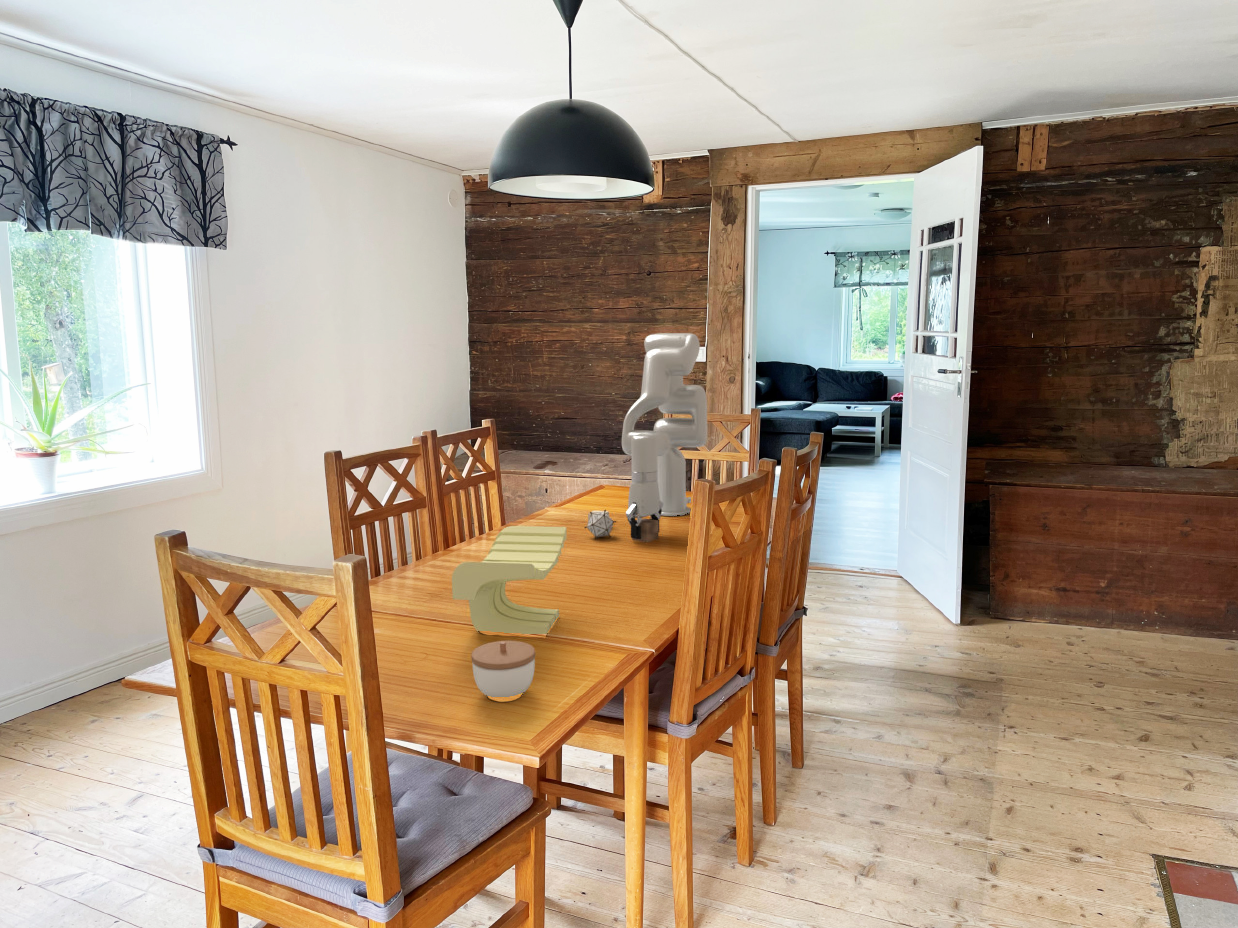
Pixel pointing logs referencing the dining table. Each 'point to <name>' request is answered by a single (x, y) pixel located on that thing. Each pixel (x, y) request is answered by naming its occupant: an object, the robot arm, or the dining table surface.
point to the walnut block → (648, 530)
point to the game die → (600, 524)
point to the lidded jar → (503, 668)
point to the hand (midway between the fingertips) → (645, 535)
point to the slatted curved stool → (510, 579)
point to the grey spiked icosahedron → (597, 512)
